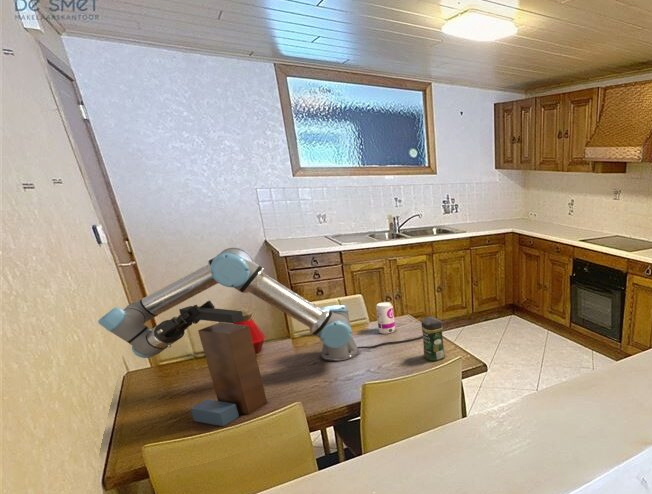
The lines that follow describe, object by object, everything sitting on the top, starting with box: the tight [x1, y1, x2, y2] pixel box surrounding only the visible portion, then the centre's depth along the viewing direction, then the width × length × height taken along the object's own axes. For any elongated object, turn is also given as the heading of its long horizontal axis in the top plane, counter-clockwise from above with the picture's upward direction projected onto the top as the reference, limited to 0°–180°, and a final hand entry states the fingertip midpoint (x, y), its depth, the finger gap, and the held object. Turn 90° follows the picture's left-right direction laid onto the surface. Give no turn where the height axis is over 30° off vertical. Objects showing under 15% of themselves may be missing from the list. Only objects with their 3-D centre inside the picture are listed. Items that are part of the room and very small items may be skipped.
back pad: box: [178, 305, 244, 324], centre depth 141 cm, size 21×4×3 cm, turn 77°
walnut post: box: [197, 322, 268, 415], centre depth 147 cm, size 12×8×30 cm, turn 77°
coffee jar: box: [421, 316, 445, 362], centre depth 191 cm, size 10×8×19 cm
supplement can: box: [375, 301, 396, 335], centre depth 220 cm, size 8×8×15 cm
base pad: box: [190, 399, 240, 427], centre depth 144 cm, size 12×6×5 cm, turn 77°
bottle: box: [232, 307, 266, 354], centre depth 194 cm, size 16×14×20 cm
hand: (204, 306), depth 141 cm, fingers closed on back pad, 4 cm apart
